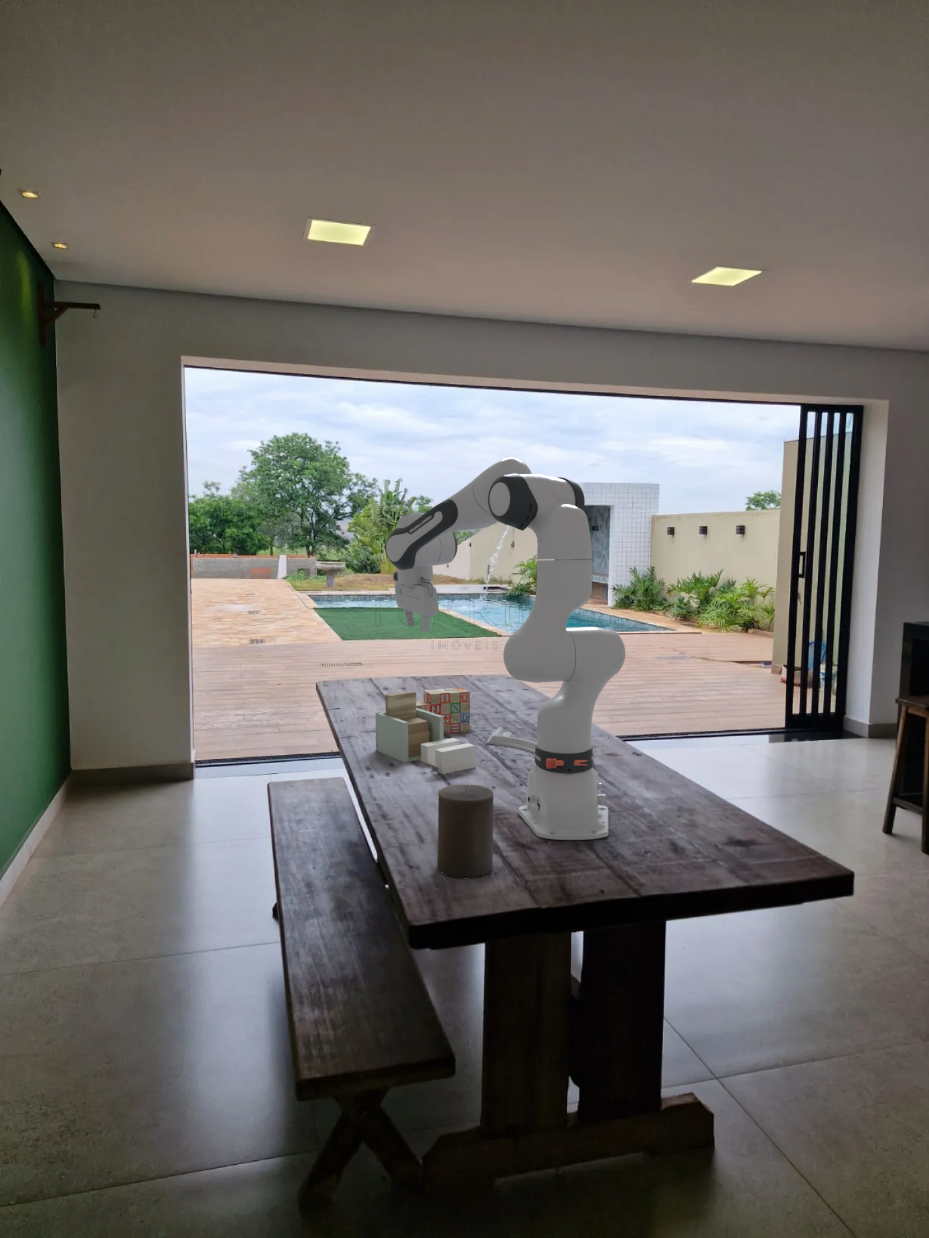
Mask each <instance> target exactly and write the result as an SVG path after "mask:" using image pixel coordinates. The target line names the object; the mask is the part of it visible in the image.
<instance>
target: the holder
mask: <svg viewBox="0 0 929 1238" xmlns="http://www.w3.org/2000/svg"><path fill="white" fill-rule="evenodd" d="M419 761H420V762H422V763H425V764H428V765H430V766H432V767H434V768H431V769H432V770H431V771H434V772H437V773H439V774H441V775H447V774H446V773H448V774H451V773H456V772H455V771H457V772H462V771H465V769H466V770H471V769H475V768H477V762H476V745H474V744H471V743H470V742H468V743H461V740H460V739H458V738H455V737H451V738H446V739H444V740H440V741H434V742H429V743H424V744H421V759H419Z"/></svg>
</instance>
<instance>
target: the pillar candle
mask: <svg viewBox="0 0 929 1238" xmlns="http://www.w3.org/2000/svg"><path fill="white" fill-rule="evenodd" d="M437 801H438V803H437V805H438V808H437V812H438V813H437V816H438V817H437V818H438V819H437V823H438V824H437V868H438V871H439V870H440V871H439V872H440V873H441V872H443V873H442V874H443V875H444V874H446V875H445V876H447V877H450V876H452V878H457V879H462V878H470V879H474V878H475V879H476V878H480V877H483V876H486V874H487V875H488V874H490V873H491V872H492V871H493V867H494V866H493V864H494V860H493V857H494V856H493V855H494V853H493V851H494V848H493V847H494V791H493V789H492V788H491V787H490V788H489V787H485V786H482V785H478V784H463V783H462V784H451V785H447V786H445V787H442V788H441V789H439V790H438V800H437Z"/></svg>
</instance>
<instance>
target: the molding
mask: <svg viewBox="0 0 929 1238" xmlns="http://www.w3.org/2000/svg"><path fill="white" fill-rule="evenodd" d="M490 744H493V745H494V746H499V747H500V746H502V747H507V748H509V747H510V748H514V749H519V750H522V751H526V752H530V753H532V754H535V746H536V745H537V742H536V741H533V740H532V741H531V740H528V739H524V738H519V737H513V732H511V731H506V732H505V731H504V728H503V727H502V726H499V727H497V729H495V731H493V732H492V733H491V734H490V736H489V738H488V739H487V741H486V745H490ZM493 745H492V746H493ZM594 764H595V759H594V758H593V767H594Z"/></svg>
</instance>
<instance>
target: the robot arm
mask: <svg viewBox="0 0 929 1238" xmlns="http://www.w3.org/2000/svg"><path fill="white" fill-rule="evenodd" d="M583 491H584V490H583V489H582V487H581V486H580V485H579V484H578V483H577V482H576V481H574V480H571V479H569V478H566V477H561V476H550V475H543V474H541V473H532V471H531V469H530V468H529V466H528V465H527V464H526V463H525V462H524V461H522V460H520V459H519V458H517V457H506V458H503V459H501V460H499V461H497V462H495V463H494V464H492V465H490V466H489V467H487V468H486V469H485V470H483V471H482V472H481V473H480V474H479V475H477V476H476V477H475V478H474V479H472V480H471V482H469V483H468V484H467V485H466V486H464V487H463V488H460V490H458V491H457V492H455V493H454V494H452V495H450V496H449V497H448V498H446V499H445V500H443V501H442V502H439V503H438V504H437V505H434V506H433V507H432V508H431V509H429V510H428V511H427V512H412V513H411V512H410V513H406V514H403V515H402V516H400V517H399V520H398V524H397V528H394V529H393V530H392V531H391V533H390V535H388V538H387V539H386V542H385V555H386V557H387V559H388V561H389V562H390V564H392V565H393V566H394V567H395V568H396V571H394V572H393V574H392V580H393V581H394V582H395V583H394V596H395V602H396V605H397V608H400V609H401V610H402V609H403V614H404V617H405V620H406V621H405V622H406V626H407V627H415V625H416V624H415V622H416V621H415V619H414V613H415V614H418V615H420V618H421V624H420V625H419V626H420V627H419V628H420V631H421V632H423V633H426V632H429V631H430V623H431V618H432V616H437V615H438V612H439V599H438V593H437V592H438V591H437V588H436V586H435V585H434V584H433V582H434V574H433V573H434V571H433V566H440V565H441V566H442V565H446V564H447V565H448V564H450V563H451V562H453V560H454V559H455V557H456V556H457V552H458V539H457V537H456V536H457V535H455V533H454V532H460V531H461V532H462V531H467V530H469V531H470V530H479V529H485V528H488V527H491V526H493V525H496V524H497V523H501V524H503V525H506V526H508V527H512V528H515V529H518V530H519V531H524V530H526V529H527V528H529V529H530V530H532V531H533V533H534V534H535V537H536V542H537V549H536V552H537V553H536V587H535V588H536V589H535V591H536V592H535V598H534V602H533V605H532V608H531V610H530V613H529V615H528V616H527V618H526V620H525V621H524V623H523V624H522V625H521V626H520V627H519V628H518V629H517V630H516V631H515V632H514V633H513V634H511V635H510V636H509V638H508V639H507V640H506V643H505V644H504V648H503V654H502V655H503V657H502V659H503V663H504V666H505V669H506V671H507V672H508V674H509V675H510V676H511V677H512V678H513V679H514V680H516V681H521V682H527V683H534V684H535V683H536V684H539V683H541V684H542V683H555V682H562V684H561V687H560V689H559V690H558V691H557V693H556V694H555V695H553V697H550V698H549V699H547V700H545V701H544V702H543V703H542V704H541V706H540V707H539V709H538V712H537V716H536V717H537V718H536V719H537V722H536V723H537V725H536V728H537V738H536V743H537V745H536V746H535V754H534V753H533V754H534V763H535V765H534V767H533V768H532V770H530V771H529V772H528V773H527V781H526V782H527V785H526V805H525V804H524V805H522V806H519V807H518V810H517V813H518V815H519V816H520V817H521V818H522V819H523V821H524V822H525V823H526V825H528V827H529V828H530V829H531V830H532V832H533V833H534V834H535V835H536V836H537V837H538V838H542V839H550V840H557V841H558V840H561V841H563V840H564V841H581V840H582V841H584V840H596V839H602V838H606V837H608V836H609V834H610V833H609V832H610V831H609V829H610V828H609V827H610V825H609V824H610V823H609V807H608V806H607V804H606V803H607V796H606V795H607V794H605V793H599V791H600V790H601V791H602V790H603V782H599V772H598V771H597V770H596V769H594V766H593V758H594V756H595V755H594V752H593V750H594V749H593V747H592V745H591V743H592V724H593V714H594V709H595V706H596V703H597V700H598V697H599V696H600V694H601V692H602V691H603V689H604V687H605V686H606V684H607V683H608V682H609V681H610V680H611V679H613V677H615V675H617V674H618V673H619V672H620V671H621V669H622V668H623V666H624V663H625V660H626V647H625V646H626V645H625V643H624V641H623V639H622V637H621V636H620V635H619V633H618V632H617V631H615V630H613V629H609V628H605V627H597V626H578V627H577V626H575V627H574V626H573V627H567V623H568V620H569V617H570V616H571V615H572V614H573V612H575V611H577V610H578V609H580V608H581V607H583V606H585V604H587V603H588V601H589V600H590V599H591V596H592V592H593V591H592V590H593V586H592V585H593V581H592V579H593V577H592V575H593V574H592V573H593V571H592V570H593V569H592V568H593V567H592V566H593V562H592V561H593V560H592V558H593V557H592V556H593V554H592V553H593V551H592V541H591V539H592V538H591V532H590V527H589V526H590V525H589V521H588V516H587V514H586V513H585V511H584V510H585V506H586V505H585V503H586V502H585V500H586V499H585V494H584V492H583Z"/></svg>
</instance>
